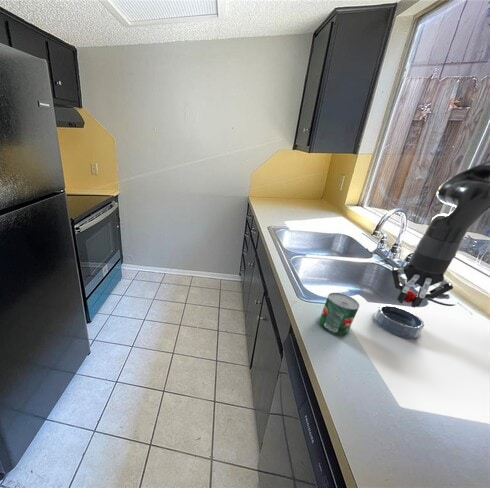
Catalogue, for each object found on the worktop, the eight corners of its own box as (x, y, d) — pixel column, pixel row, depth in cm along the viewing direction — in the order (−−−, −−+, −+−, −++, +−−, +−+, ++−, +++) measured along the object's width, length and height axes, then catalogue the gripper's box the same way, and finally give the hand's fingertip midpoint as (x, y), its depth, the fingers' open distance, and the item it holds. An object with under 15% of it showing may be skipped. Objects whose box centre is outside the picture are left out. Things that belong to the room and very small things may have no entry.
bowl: (414, 327, 82) (422, 314, 80) (418, 347, 74) (426, 333, 72) (373, 312, 88) (379, 300, 86) (372, 329, 80) (378, 316, 78)
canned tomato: (315, 317, 84) (326, 289, 80) (343, 324, 82) (355, 296, 77) (319, 333, 78) (330, 304, 73) (349, 342, 75) (363, 312, 71)
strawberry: (412, 306, 78) (409, 296, 81) (419, 299, 76) (416, 288, 78) (398, 302, 79) (395, 292, 82) (404, 295, 77) (402, 285, 80)
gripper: (467, 256, 69) (435, 307, 76) (400, 241, 77) (378, 289, 84) (474, 266, 64) (439, 320, 71) (402, 249, 71) (377, 300, 79)
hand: (406, 303), depth 78 cm, fingers closed on strawberry, 2 cm apart
